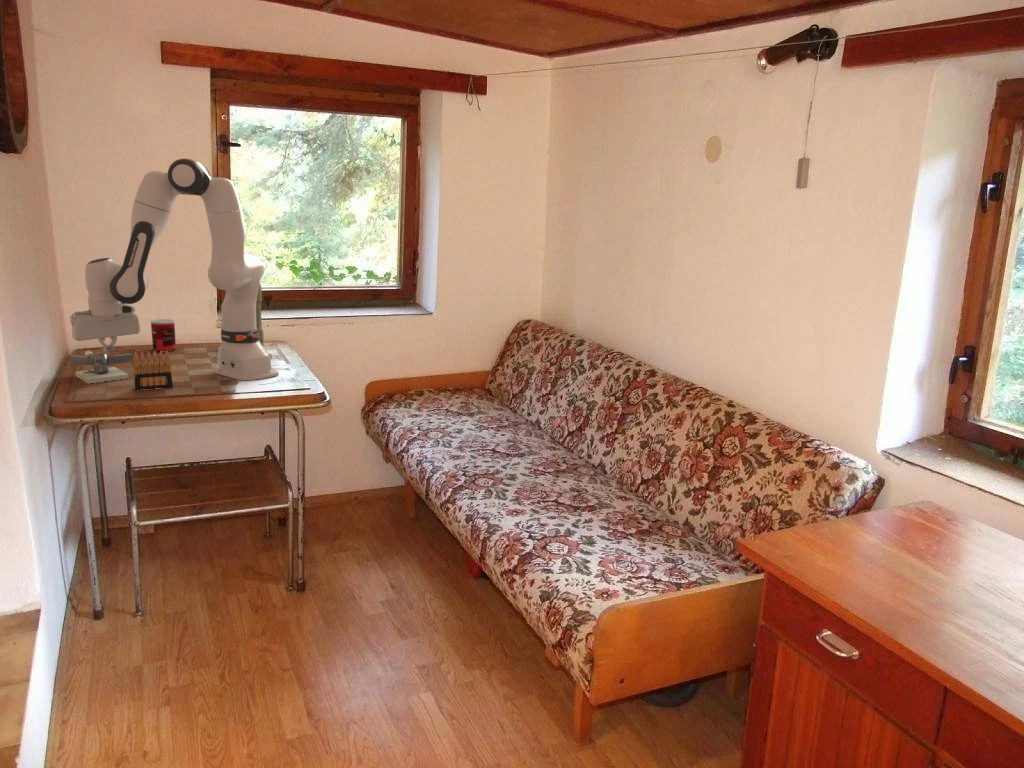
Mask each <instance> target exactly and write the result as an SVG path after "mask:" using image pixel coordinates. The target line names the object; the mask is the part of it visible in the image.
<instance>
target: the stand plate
mask: <svg viewBox="0 0 1024 768" xmlns="http://www.w3.org/2000/svg"><path fill="white" fill-rule="evenodd" d="M76 376H77V377H78V379H79V378H80V379H79V380H81V379H82V380H83V382H84V381H85V382H87V383H94V384H96V383H95V382H101V383H104V382H103V381H108V382H112V381H111V380H116V381H121V380H120V379H123V380H127V379H126V378H128V379H129V373H126V372H125V371H123V370H121V369H119V368H117V367H116V366H111V367H108V373H103V374H97V373H94V369H88V370H87V369H85V370H80V371H75V377H76ZM77 377H76V378H77ZM82 380H81V381H82ZM85 382H84V383H85ZM87 383H86V384H87Z"/></svg>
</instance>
